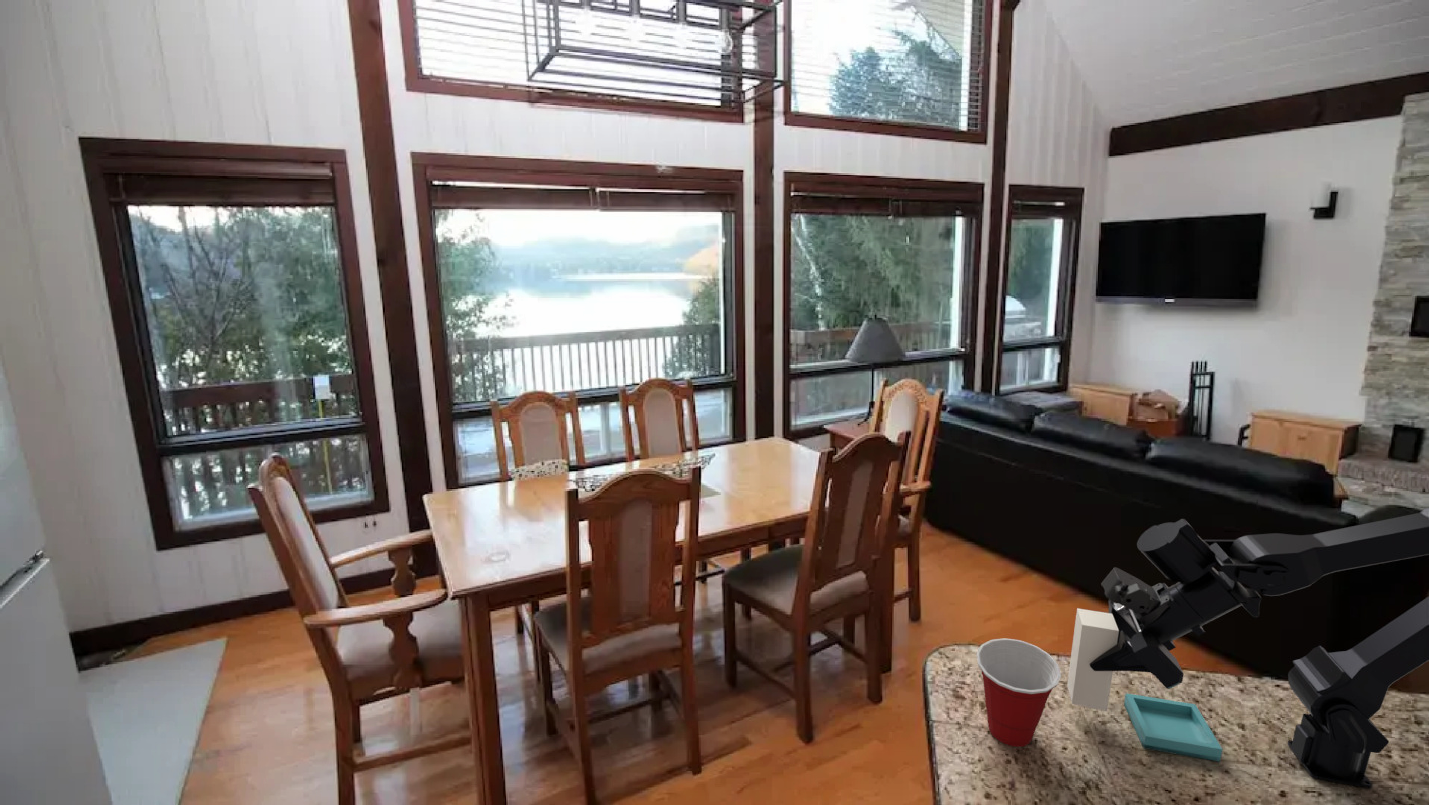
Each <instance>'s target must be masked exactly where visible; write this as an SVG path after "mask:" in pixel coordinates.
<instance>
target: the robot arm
mask: <svg viewBox="0 0 1429 805" xmlns="http://www.w3.org/2000/svg"><path fill="white" fill-rule="evenodd" d="M1136 546H1137V547H1136V548H1137V549H1138V550H1139V551H1140V552H1141V554H1143V555H1144V556H1145V557H1146V558H1147V560H1149V561H1150V562H1151V564H1152V565H1154V567H1156V568H1157V569H1158V571H1159V572H1161V574H1162V575H1163V576H1164V577H1165V578H1166V579H1167V580H1169V581H1170V582H1175V584H1172V585H1171V586H1168V585H1167V584H1166V583H1165V582H1163V583H1161V582H1159V583H1157V584H1155V585H1153V586H1151V585H1149V584H1147V583H1145V582H1144V581H1142V580H1141V579H1139V578H1137V577H1136V576H1133V575H1132V574H1130V573H1128V572H1126V571H1124V570H1122V569H1121V568H1119V567H1113V569H1112V570H1111V571H1110V572H1109V573H1108V574H1107V575H1106V577H1105V578H1104V579H1103V581H1102V582H1101V583H1100V584H1101V587H1103V589H1104V595H1105V596H1106V598H1108V612H1107V613H1110V614H1112V615H1113V617H1114V620H1115V622H1116V625H1117V627H1118V630H1119V633H1118V640H1117V645H1115V646H1114V647H1112V648H1111V649H1109V650H1108V651H1106V652H1105V653H1103V654H1102V655H1100V656H1099V657H1098V658H1096V659H1095V660H1094V661H1092V662H1091V663H1090V667H1091V668H1092V669H1093V670H1094V671H1113V672H1138V673H1139V672H1140V673H1151V675H1153V676H1154V677H1155V678H1156V679H1157V681H1159V682H1160V683H1161V684H1162V685H1163V686H1164V688H1165V689H1167V690H1170V689H1172V688H1174V687H1176V686H1178V685H1180V684H1183V679H1184V672H1183V670H1182V668H1181V666H1180V663H1179V662H1178V660H1177V658H1176V657H1175V656H1174V655H1173V654H1172V653H1171V651H1172V650H1174V649H1176V645H1175V643H1174V641H1175V640H1178V639H1179V638H1181V637H1183V636H1184V635H1187V634H1189V633H1191V632H1193V633H1194V634H1195V635H1196V636H1197V637H1200V636H1201V635H1204V634H1205V633H1206V631H1205V630H1204V628H1203V626H1204V625H1206V624H1208V623H1210V622H1212V621H1214V620H1216V619H1218V618H1220V617H1222V616H1224V615H1226V614H1228V613H1229V612H1231V611H1233V610H1235V609H1237V608H1239V607H1241V606H1242V607H1243V608H1244V609H1245V610H1246V611H1247V613H1249V614H1250V616H1252V618H1259V616H1260V604H1261V601H1262V600H1263V598H1262V597H1261V595H1260V594H1262V595H1263V596H1269V597H1275V596H1282V595H1285V594H1289V593H1292V592H1295V591H1298V590H1302V589H1305V588H1308V587H1310V586H1312V584H1314V583H1316V582H1317V581H1319V580H1320V579H1321V578H1322V577H1324V576H1327V575H1329V574H1333V573H1336V572H1341V571H1342V572H1343V571H1346V570H1352V569H1353V570H1354V569H1358V568H1364V567H1369V566H1370V567H1371V566H1375V565H1379V564H1386V563H1391V562H1396V561H1401V560H1408V559H1413V558H1418V557H1423V556H1429V507H1427V508H1425V509H1422V510H1421V511H1419V512H1417V513H1413V514H1407V515H1403V516H1398V517H1393V518H1388V519H1383V520H1377V521H1373V522H1367V523H1363V524H1358V525H1354V526H1353V525H1352V526H1348V527H1344V528H1343V527H1342V528H1338V529H1331V530H1328V531H1324V532H1318V533H1314V534H1304V535H1303V534H1302V535H1301V534H1300V535H1299V534H1287V533H1278V532H1276V533H1274V532H1273V533H1262V534H1261V533H1259V534H1248V535H1247V534H1246V535H1243V536H1241V537H1238V538H1236V539H1202V538H1201V536H1199V534H1198V533H1197V531H1196V530H1195V528H1193V527H1192V525H1190V523H1189V522H1188V521H1187V520H1186V519H1185V518H1181V519H1179V520H1177V521H1175V522H1164V523H1161V524H1157V525H1156V524H1155V525H1152V526H1150V527H1149V528H1148V529H1146V530H1145V531H1144V532H1143V533H1142V534H1141V535H1140V536H1139V538H1138V539H1137V542H1136ZM1216 566H1217V567H1218V568H1219V569H1220V570H1221V571H1217V569H1216V568H1214V567H1216ZM1242 584H1243V585H1247V586H1248V587H1250V588H1247V587H1244V586H1243V585H1242ZM1259 593H1260V594H1259ZM1427 662H1429V596H1427V597H1425V599H1423V600H1422V601H1420V602H1419V603H1417V604H1416V605H1413V607H1411V608H1410V609H1408V610H1406V611H1405V612H1403V613H1402V614H1401V615H1399V616H1397V617H1396V618H1395V619H1393V620H1391V621H1390V622H1389V623H1387V624H1386V625H1385V626H1383V627H1381V628H1380V629H1378V630H1376V631H1375V632H1374V633H1372V634H1371V635H1369V636H1368V637H1367V638H1365V639H1363V640H1362V641H1360V642H1359V643H1357V644H1356V645H1354V646H1353V647H1352V648H1349V649H1347V650H1344V651H1333V652H1328V651H1327V650H1326V649H1325V648H1324V647H1323V646H1321V645H1317V646H1316V647H1313V648H1312V649H1311V650H1310V651H1309V652H1308V653H1307V654H1306V655H1305V656H1303V657H1300V658H1299V659H1295V660H1292V663H1293V665H1294V666H1293V667H1292V668H1291V669H1290V670H1289V671H1288V673H1287V676H1288V685H1289V687H1290V689H1291V690H1292V691H1293V693H1294V695H1296V697H1297V698H1298V700H1299V701H1300V702H1301V704H1302V705H1303V706H1304V707H1305V709H1306V710H1307V711H1308V712H1309V714H1308V713H1303V714H1302V716H1301V721H1300V723H1297V724H1296V726H1295V729H1294V733H1293V738H1292V740H1288V741H1287V746H1288V747H1289V748H1290V750H1291V751H1292V753H1293V754H1294V755H1295V756H1296V758H1297V759H1298V761H1300V763H1301V765H1302V766H1303V768H1304V769H1305V770H1306V771H1307V773H1308V774H1309V775H1310V776H1311V777H1312V778H1313V779H1317V780H1322V781H1327V782H1331V783H1340V784H1342V785H1343V784H1345V785H1348V786H1349V785H1350V786H1355V787H1360V788H1367V789H1372V788H1373V785H1374V784H1373V782H1372V781H1371V780H1370V779H1369V777H1367V776H1366V772H1367V769H1368V765H1369V761H1370V758H1371V754H1372V753H1374V754H1380V753H1381V752H1382V751H1383V750H1384V749H1385V748H1386V746H1388V744H1389V743H1390V742H1389V739H1387V737H1386V736H1385V734H1383V733H1382V732H1381V730H1380V729H1379V728H1378V727H1377V726H1376V725H1375V724H1374V723H1373V721H1372V720H1371V718H1372V717H1373V716H1375V715H1376V714H1377V713H1378V712H1379V711H1380V710H1381V708H1382V705H1383V703H1384V701H1385V697H1386V695H1387V693H1388V690H1389V688H1390V686H1391V685H1392V684H1394V683H1395V682H1397V681H1399V680H1400V679H1401V678H1403V677H1405V676H1406V675H1408V674H1409V673H1411V672H1413V671H1414V670H1415V669H1418V668H1419V667H1421V666H1422V665H1424V664H1425V663H1427Z"/></svg>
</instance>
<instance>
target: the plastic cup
mask: <svg viewBox="0 0 1429 805" xmlns="http://www.w3.org/2000/svg"><path fill="white" fill-rule="evenodd" d="M976 659H977V660H976V661H977V666H978V667H979V669H980V671H981V675H982V680H983V691H984V702H985V709H986V715H987V716H986V717H987V725H988V728H989V732H990V733H991V735H992V737H993V738H995V739H997V741H998V742H1001V743H1003V744H1005V745H1007V746H1010V747H1014V748H1015V747H1016V748H1018V747H1019V748H1020V747H1026V746H1027V745H1029V744H1030V742H1032V740H1033V738H1034V735H1035V733H1036V729H1037V727H1038V725H1039V723H1040V720H1041V719H1042V718H1041V717H1042V715H1043V713H1044V709H1045V707H1046V704H1047V701H1048V699H1049V696H1050V694H1051V693H1052V691H1053V689H1054V688H1056V687H1057V686H1058V685H1059V683H1060V679H1061V677H1062V672H1061V668H1060V665H1059V664H1058V662H1057V661H1056V660H1055V659H1054V658H1053V657H1052V656H1051V655H1050V653H1049V652H1046V651H1045V650H1043V649H1042V648H1040V647H1039V646H1037V645H1034V644H1032V643H1030V642H1027V641H1023V640H1020V639H1013V638H1004V637H1003V638H994V639H990V640H989V641H986V642H984V643H983V644H981V645H980V646H979V648H978V649H977V652H976Z"/></svg>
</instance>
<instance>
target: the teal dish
mask: <svg viewBox="0 0 1429 805" xmlns="http://www.w3.org/2000/svg"><path fill="white" fill-rule="evenodd" d="M1123 706H1124V708H1125V710H1126V713H1127V715H1128V718H1129V720H1130V721H1131V724H1132V726H1133V728H1134V730H1135V732H1136V734H1137V736H1138V739H1139V741H1140V744H1141V746H1142V748H1143V749H1146V750H1151V751H1152V750H1153V751H1159V752H1164V753H1169V754H1175V755H1180V756H1185V757H1191V758H1197V759H1203V760H1207V761H1208V760H1209V761H1213V762H1218V763H1219V762H1221V759H1222V754H1223V748H1222V746H1221V744H1220V743H1219V741H1218V738H1216V736H1215V734H1214V732H1213V731H1212V729H1211V728H1210V726H1209V724H1208V723H1207V721H1206V719H1205V718H1204V716H1203V715H1202V713H1201V711H1200V710H1199V708H1198V707H1197V704H1196V703H1189V702H1183V701H1178V700H1170V699H1163V698H1159V697H1152V696H1146V695H1139V694H1134V693H1127V692H1126V693H1125V695H1124V702H1123Z"/></svg>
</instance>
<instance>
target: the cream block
mask: <svg viewBox="0 0 1429 805" xmlns="http://www.w3.org/2000/svg"><path fill="white" fill-rule="evenodd" d="M1118 633H1119V630H1118V627H1117V625H1116V622H1115V620H1114V617H1113V615H1112V614H1110V613H1108V612H1103V611H1097V610H1090V609H1083V608H1079V607H1077V608H1076V614H1075V622H1074V631H1073V638H1072V645H1071V654H1070V660H1069V661H1070V663H1069V669H1068V676H1067V683H1066V684H1067V690H1068V693H1069V694H1068V695H1069V698H1070V702H1071V705H1074V706H1080V707H1085V708H1089V709H1094V710H1099V711H1104V712H1108V709H1109V708H1108V706H1109V700H1110V694H1111V688H1112V687H1111V686H1112V678H1113V673H1114V671H1094V670H1093V669H1092V668H1091V667H1090V663H1091V662H1092V661H1094V660H1095V659H1096V658H1098V657H1099V656H1100V655H1102V654H1103V653H1105V652H1106V651H1108V650H1109V649H1111V648H1112V647H1114V646H1115V645H1117V640H1118Z"/></svg>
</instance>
